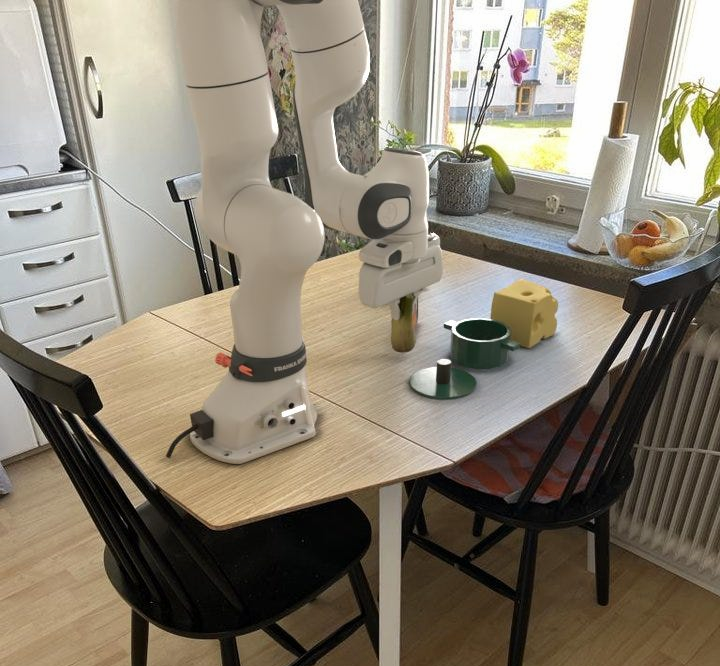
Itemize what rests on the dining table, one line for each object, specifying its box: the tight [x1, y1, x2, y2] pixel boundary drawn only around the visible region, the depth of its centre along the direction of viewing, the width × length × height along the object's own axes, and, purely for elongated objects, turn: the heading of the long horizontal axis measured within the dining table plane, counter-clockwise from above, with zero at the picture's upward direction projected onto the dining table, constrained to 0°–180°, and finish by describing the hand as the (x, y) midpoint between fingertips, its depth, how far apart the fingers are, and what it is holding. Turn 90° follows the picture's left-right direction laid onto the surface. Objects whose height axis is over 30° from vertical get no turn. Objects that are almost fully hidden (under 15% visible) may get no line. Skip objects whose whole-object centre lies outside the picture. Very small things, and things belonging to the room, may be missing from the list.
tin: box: [412, 297, 419, 329], centre depth 152 cm, size 15×3×8 cm, turn 168°
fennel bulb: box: [390, 294, 417, 354], centre depth 139 cm, size 6×5×12 cm
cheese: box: [489, 278, 559, 349], centre depth 150 cm, size 10×11×10 cm
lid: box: [409, 358, 477, 400], centre depth 133 cm, size 12×12×5 cm
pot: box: [443, 317, 521, 370], centre depth 142 cm, size 11×17×6 cm
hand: (402, 315), depth 138 cm, fingers closed on fennel bulb
